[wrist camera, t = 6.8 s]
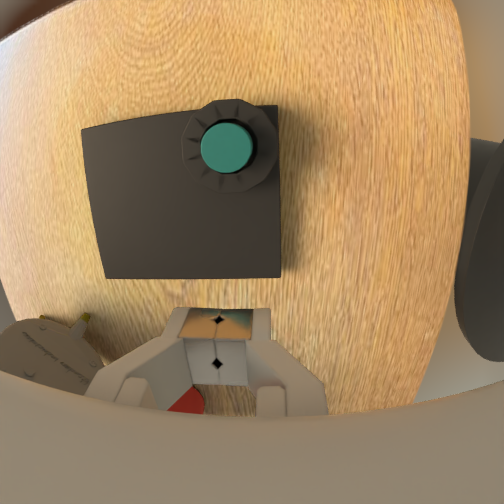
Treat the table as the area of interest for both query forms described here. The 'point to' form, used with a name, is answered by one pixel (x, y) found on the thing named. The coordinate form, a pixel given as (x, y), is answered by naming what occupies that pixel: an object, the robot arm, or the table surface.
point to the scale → (185, 196)
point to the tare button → (226, 147)
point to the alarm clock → (50, 354)
